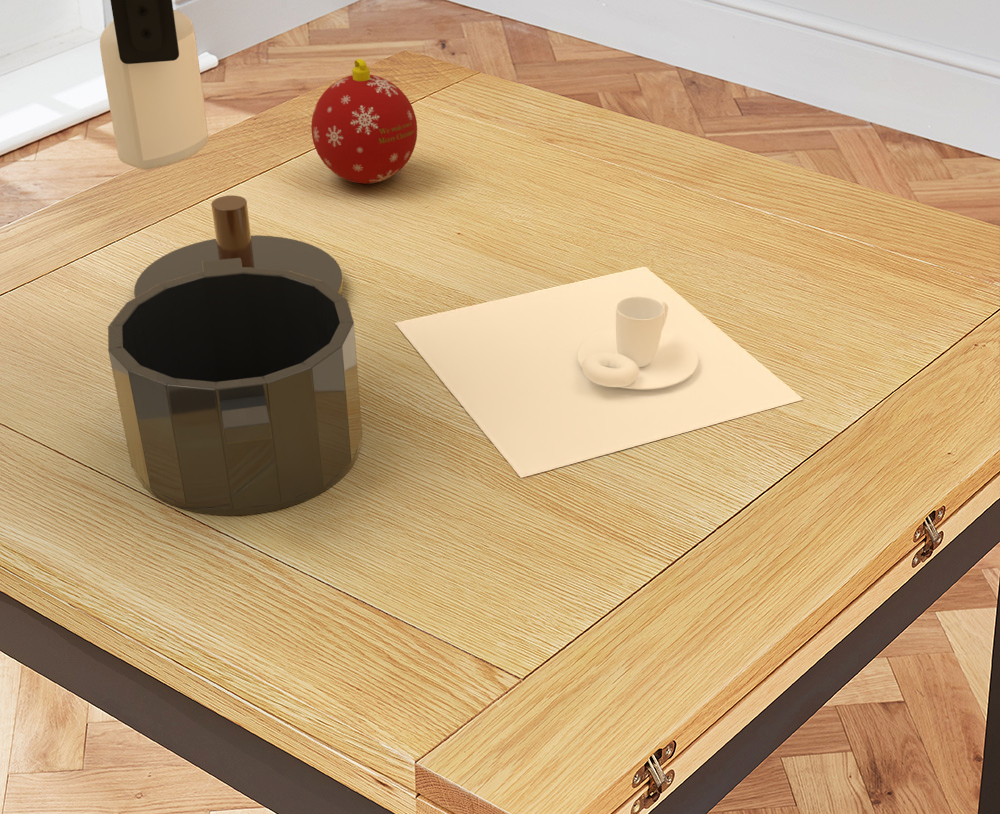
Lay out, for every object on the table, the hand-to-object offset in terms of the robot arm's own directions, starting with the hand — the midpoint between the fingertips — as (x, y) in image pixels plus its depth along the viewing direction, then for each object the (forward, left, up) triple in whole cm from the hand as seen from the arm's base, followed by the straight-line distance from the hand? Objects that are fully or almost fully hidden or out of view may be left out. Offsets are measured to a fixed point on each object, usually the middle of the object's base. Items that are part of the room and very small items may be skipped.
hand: (147, 40), depth 77 cm
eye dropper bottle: (0, 0, -7) cm, 7 cm away
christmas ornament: (+15, +26, -21) cm, 37 cm away
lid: (+4, +8, -21) cm, 22 cm away
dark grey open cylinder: (+2, -11, -21) cm, 24 cm away
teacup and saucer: (+25, -6, -21) cm, 34 cm away
